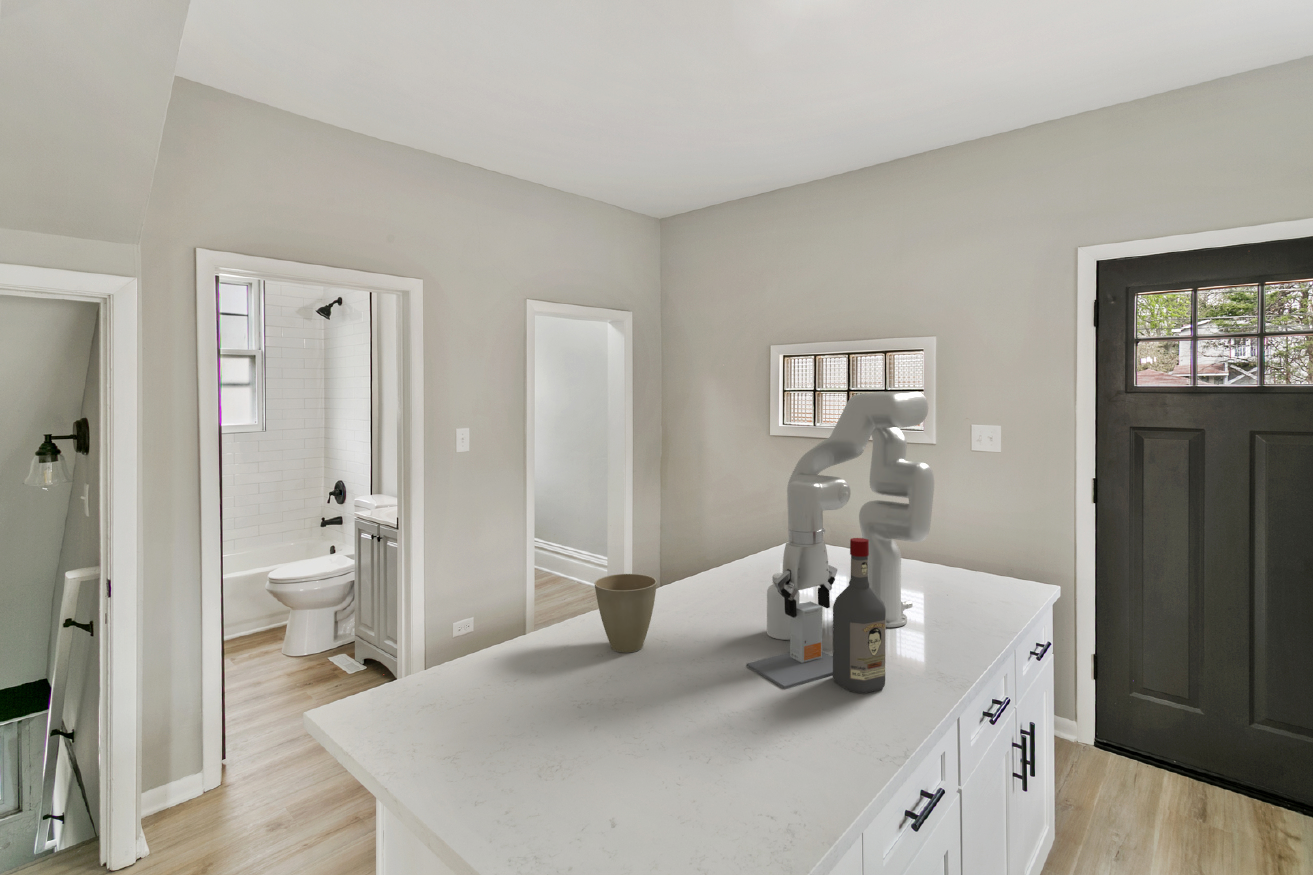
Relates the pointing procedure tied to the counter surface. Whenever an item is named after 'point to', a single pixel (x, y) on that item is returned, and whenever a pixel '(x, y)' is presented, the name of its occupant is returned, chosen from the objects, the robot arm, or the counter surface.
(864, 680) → the liquor
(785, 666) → the mat
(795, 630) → the skincare box
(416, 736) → the counter surface
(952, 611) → the counter surface
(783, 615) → the pill bottle
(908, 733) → the counter surface
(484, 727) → the counter surface
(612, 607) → the plant pot
